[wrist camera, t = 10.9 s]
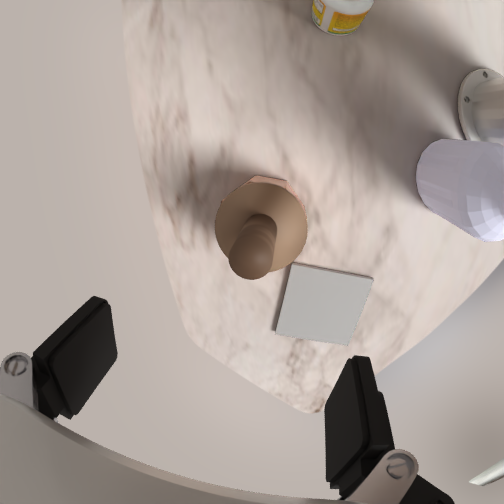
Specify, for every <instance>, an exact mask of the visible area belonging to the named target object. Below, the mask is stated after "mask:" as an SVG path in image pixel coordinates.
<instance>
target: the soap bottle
mask: <svg viewBox="0 0 504 504" xmlns="http://www.w3.org/2000/svg"><path fill="white" fill-rule="evenodd" d="M416 182H417V188H418V192H419V194H420V196H421V198H422V200H423V202H424V204H425V205H426V206H427V207H428V208H429V209H430V210H431V211H432V212H434V213H435V214H437V215H439V216H441V217H442V218H444V219H446V220H447V221H449V222H451V223H452V224H454V225H456V226H457V227H459V228H460V229H462V230H464V231H465V232H467V233H468V234H470V235H472V236H473V237H475V238H477V239H480V240H482V241H484V242H487V241H500V240H503V239H504V146H502V145H501V144H499V143H492V142H482V141H470V140H454V139H440V140H438V141H435V142H433V143H431V144H430V145H429V146H428V147H427V148H426V149H425V150H424V151H423V152H422V155H421V157H420V159H419V161H418V164H417V171H416Z"/></svg>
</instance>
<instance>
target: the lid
mask: <svg viewBox="0 0 504 504" xmlns="http://www.w3.org/2000/svg"><path fill="white" fill-rule="evenodd" d="M215 234H216V239H217V241H218V244H219V246H220V248H221V250H222V251H223V253H224V254H225V255H226V256H227V258H228V259H229V264H230V266H231V268H232V270H233V271H234V272H235V273H236V274H237V275H238V276H240V277H242V278H245V279H249V280H254V279H259V278H261V277H263V276H265V275H266V274H267V273H268V272H272V271H276V270H279V269H282V268H284V267H286V266H287V265H289V264H290V263H292V262H293V261H294V260H295V259H296V258H297V257H298V255H299V254H300V253H301V251H302V249H303V247H304V245H305V242H306V239H307V220H306V216H305V212H304V210H303V207H302V206H301V204H300V202H299V201H298V200H297V198H296V197H295V196H294V195H293V194H292V193H291V192H289V191H288V190H287V189H285V188H283V187H281V186H279V185H276V184H273V183H269V182H254V183H249V184H246V185H243V186H241V187H239V188H237V189H236V190H234V191H233V192H232V193H231V194H230V195H228V196H227V198H226V199H225V200H224V201H223V202H222V204H221V205H220V207H219V209H218V212H217V215H216V220H215Z"/></svg>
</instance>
